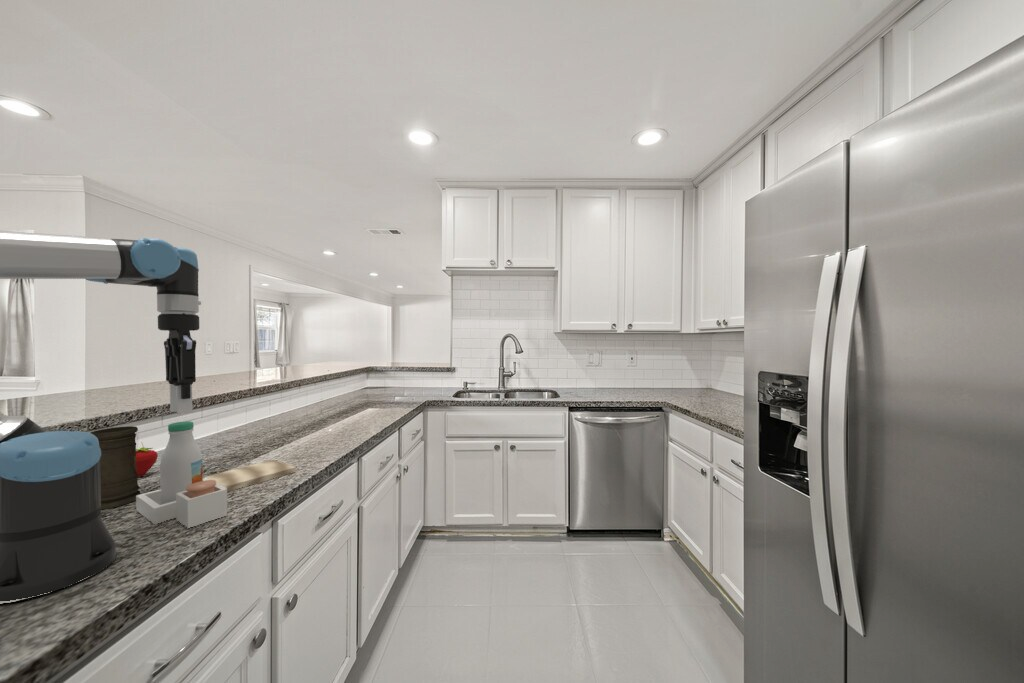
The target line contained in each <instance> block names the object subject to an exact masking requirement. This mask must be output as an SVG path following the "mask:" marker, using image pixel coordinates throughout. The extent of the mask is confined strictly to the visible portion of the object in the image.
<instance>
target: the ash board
mask: <svg viewBox="0 0 1024 683" xmlns="http://www.w3.org/2000/svg"><path fill="white" fill-rule="evenodd" d="M296 471H297V467H296V466H293V465H290V464H287V463H284V462H282V461H278V460H275V459H270V460H267V461H262V462H259V463H254V464H251V465H247V466H241V467H239V468H234V469H231V470H227V471H223V472H219V473H216V474H210V475H207V476H203V478H207V479H209V480H215V481H216V483H217V484H220V485H222V486H224V487H226V488H227V493H228V491H229V492H232V490H233V491H235V489H236V490H239V488H240V489H242V487H243V488H247V487H249V485H250V486H253V485H255V484H256V483H257V484H259V483H263V481H264V482H266V481H267V482H268V481H271V480H273V478H274V479H277V478H280V477H279V476H281V477H283V476H282V475H284V476H287V475H286V474H288V475H290V474H289V473H291V474H294V473H293V472H295V473H296ZM276 477H277V478H276ZM270 479H271V480H270ZM257 484H256V485H257Z"/></svg>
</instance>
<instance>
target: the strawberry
mask: <svg viewBox="0 0 1024 683" xmlns="http://www.w3.org/2000/svg"><path fill="white" fill-rule="evenodd" d="M141 444H142V447H139V448H136V468H137V476H138V478H139V477H143V476H145V475H146V474H147V473H148V472H149V471H150V469H151V468H153V466H154V465H155V464H156V462H157V460H158V458H159V457H158V456H159V455H158V452H157V451H155V450H152V449H154V448H153V447H145V446H144V444H143V442H142V441H141Z"/></svg>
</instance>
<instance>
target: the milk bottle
mask: <svg viewBox="0 0 1024 683" xmlns="http://www.w3.org/2000/svg"><path fill="white" fill-rule="evenodd" d="M194 426H195V425H194V422H193V421H178V422H173V423H169V424H168V426H167V431H168V433H167V434H168V435H169V439H168V442H167V445H166V446H165V448H164V450H163V453H162V455H161V458H160V471H159V474H160V478H159V479H160V482H159V483H160V484H159V485H160V489H161V505H162V504H166V503H170V502H173V501H176V493H180V492H184V491H186V487H187V486H188V485H190V484H193V483H196V482H200V481H203V478H204V467H203V455H202V450H201V449H200V445H198V443H197V441H196V440H195V437H194V435H193V431H194Z"/></svg>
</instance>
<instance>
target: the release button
mask: <svg viewBox="0 0 1024 683" xmlns="http://www.w3.org/2000/svg"><path fill="white" fill-rule="evenodd" d="M215 485H216V481H215V480H206V481H200V482H196V483H193V484H190V485H188V486H187V487H186V491H188V492H189V498H194V497H198V496H201V495H205V494H208V493H212V492H214V486H215Z"/></svg>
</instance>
